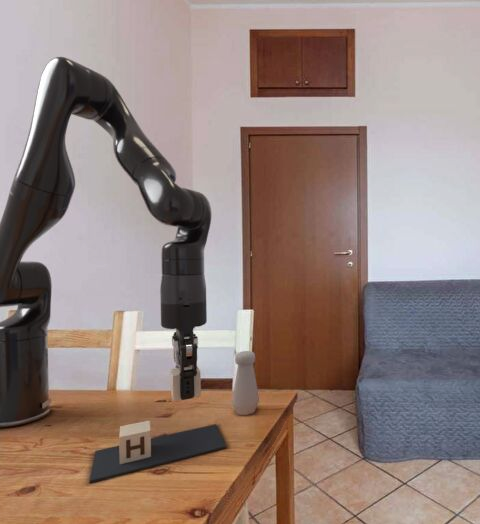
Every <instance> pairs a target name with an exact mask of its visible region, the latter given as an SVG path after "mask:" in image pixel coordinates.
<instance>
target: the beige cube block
mask: <svg viewBox="0 0 480 524" xmlns="http://www.w3.org/2000/svg"><path fill="white" fill-rule="evenodd" d="M188 369H191V366H190V367H184V370H188ZM201 381H202V379H201V370H200V368H199V366H197V375H196V376H195V377H194V397H193V398H192V399H195V398H200V397H202V385H201V384H202V383H201ZM170 395H171V399H172V402H173V403H174V402H180V401H183V400H182V399H181V397H180V377H179V368H171V369H170Z"/></svg>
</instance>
